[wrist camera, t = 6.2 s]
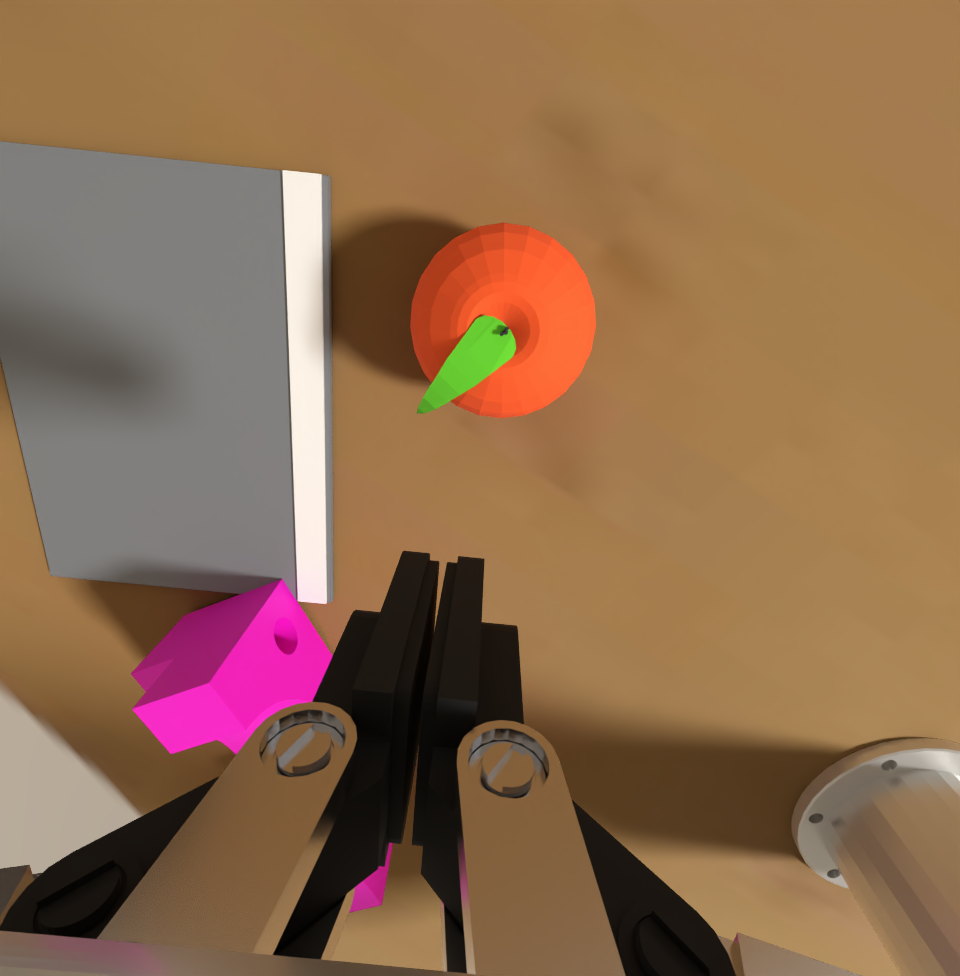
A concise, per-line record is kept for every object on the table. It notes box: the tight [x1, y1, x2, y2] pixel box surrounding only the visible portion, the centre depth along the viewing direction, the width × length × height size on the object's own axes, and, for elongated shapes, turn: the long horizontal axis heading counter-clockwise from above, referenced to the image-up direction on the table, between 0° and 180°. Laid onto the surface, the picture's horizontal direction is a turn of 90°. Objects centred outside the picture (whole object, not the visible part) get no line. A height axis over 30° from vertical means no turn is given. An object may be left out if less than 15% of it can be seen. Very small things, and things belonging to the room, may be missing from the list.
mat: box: [0, 141, 334, 604], centre depth 24 cm, size 15×20×1 cm
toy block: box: [131, 579, 393, 912], centre depth 27 cm, size 15×6×8 cm, turn 23°
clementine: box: [410, 223, 596, 418], centre depth 20 cm, size 8×7×7 cm
